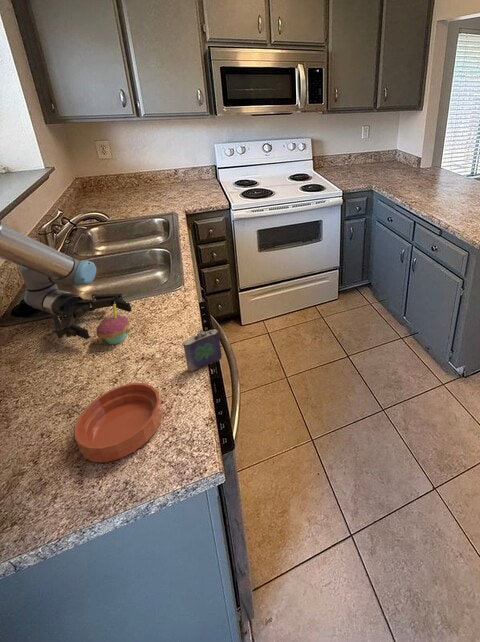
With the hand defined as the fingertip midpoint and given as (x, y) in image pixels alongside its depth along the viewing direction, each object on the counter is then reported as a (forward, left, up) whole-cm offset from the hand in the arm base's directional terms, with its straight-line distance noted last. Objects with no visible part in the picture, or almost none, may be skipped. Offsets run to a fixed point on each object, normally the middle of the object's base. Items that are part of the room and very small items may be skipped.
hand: (109, 320), depth 105 cm
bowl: (+10, -34, -7) cm, 36 cm away
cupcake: (+1, -1, -7) cm, 7 cm away
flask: (+27, -19, -7) cm, 33 cm away
